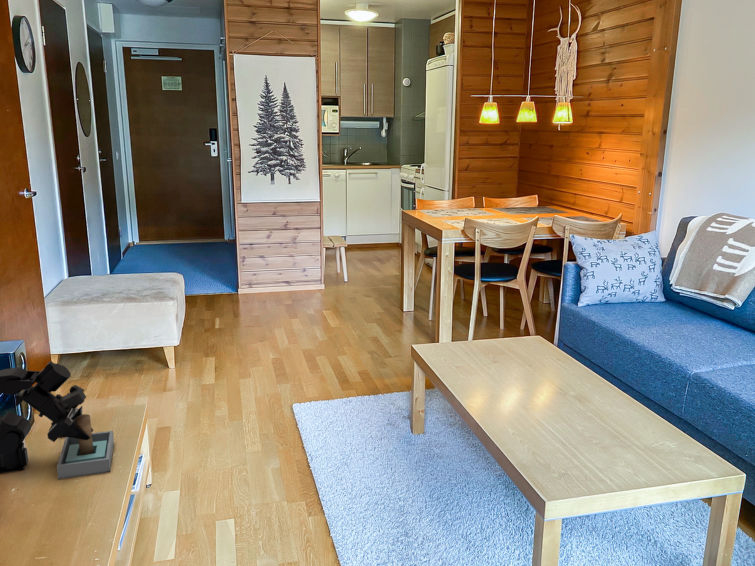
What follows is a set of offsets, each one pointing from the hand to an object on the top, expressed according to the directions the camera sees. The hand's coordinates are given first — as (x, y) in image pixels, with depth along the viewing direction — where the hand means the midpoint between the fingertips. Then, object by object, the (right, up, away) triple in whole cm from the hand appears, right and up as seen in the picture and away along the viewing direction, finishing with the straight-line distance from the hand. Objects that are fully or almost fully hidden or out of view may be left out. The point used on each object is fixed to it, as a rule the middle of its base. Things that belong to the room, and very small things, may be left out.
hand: (90, 435), depth 177 cm
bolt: (-17, -3, +21) cm, 28 cm away
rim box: (-2, -8, +1) cm, 8 cm away
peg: (-2, -7, +1) cm, 7 cm away
